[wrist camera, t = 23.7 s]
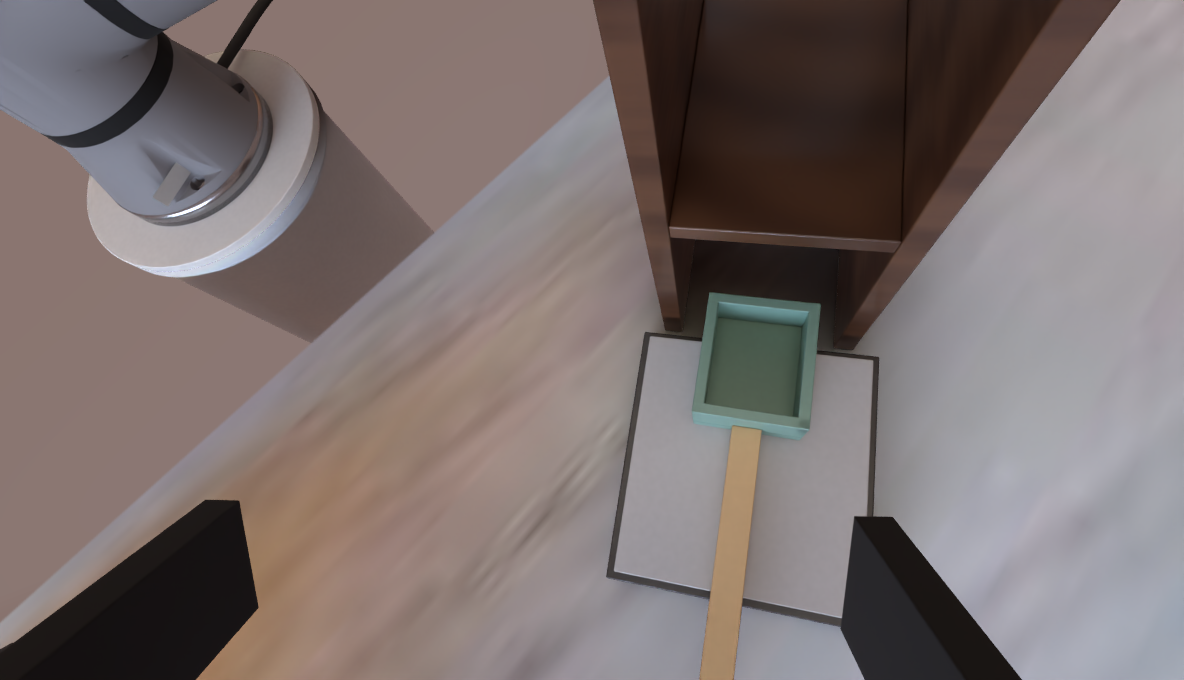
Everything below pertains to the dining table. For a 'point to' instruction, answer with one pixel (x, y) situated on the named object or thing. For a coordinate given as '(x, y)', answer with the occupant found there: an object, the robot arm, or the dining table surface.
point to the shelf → (825, 124)
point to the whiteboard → (782, 493)
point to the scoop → (748, 431)
